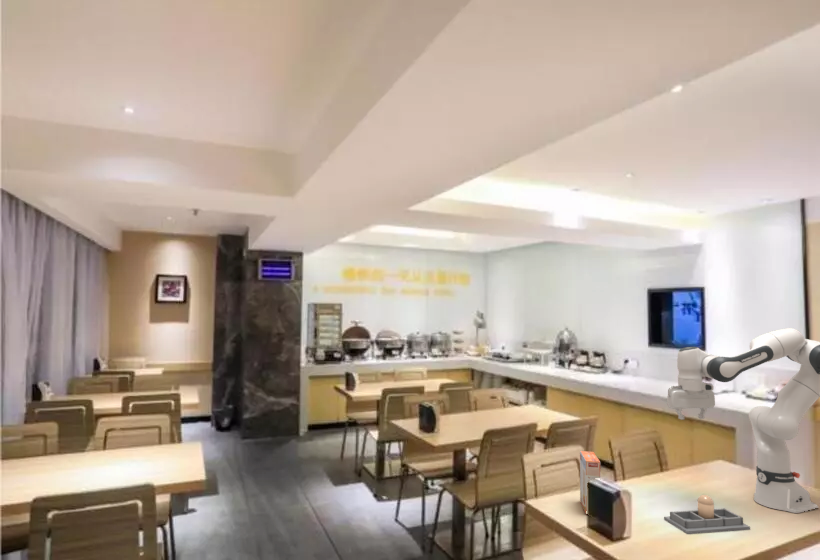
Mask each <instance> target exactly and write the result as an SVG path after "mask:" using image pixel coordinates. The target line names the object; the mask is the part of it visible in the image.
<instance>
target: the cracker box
mask: <svg viewBox="0 0 820 560" xmlns="http://www.w3.org/2000/svg"><path fill="white" fill-rule="evenodd" d="M579 463H580V464H579V471H580V473H579V474H580V476H579V478H580V479H579V480H580V481H579V484H580V485H579V487H580V488H579V493H580V494H579V496H580V497H579V498H580V499H579V501H581V502H580V504H581V507H582V506H583V507H582V509H583V508H584V509H583V512H584V513H586V511H587V483H588V481H590V480H592V479H595V478H600V479H601V461H600V459H599V458H598V456H597V455H596V453H595V452H594V451H585V450H584V451H583V450H580V451H579Z"/></svg>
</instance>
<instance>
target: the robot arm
mask: <svg viewBox="0 0 820 560" xmlns="http://www.w3.org/2000/svg"><path fill="white" fill-rule="evenodd" d="M785 357H786V358H788V359H789V360H790V361H793V362H796V363H798V364H800V367H799V370H798V372H797V373H796V374H795V375H794V376H792V378H790V380H788V382H786V384H785V385H784V386H783V387H782V388H781V389H780V390H779V391H778V392H777V397H776V400H775V402H774V404H773V406H772V407H770V406H765V405H764V406H763V405H762V406H761V405H759V406H755V407H753V408H751V410H750V411H749V412H748V420H749V422H750V424H751V428H752V433H753V437H754V441H755V445H756V459H757V460H756V461H757V462H756V463H757V466H755V467H756V469H755V471H756V474H755V475H756V477H757V478H756V481H755V491H754V493H753V496H754V497H753V500H754V502H756V503H757V504H759V505H762V506H764V507H767V508H770V509H775V510H780V511H784V512H788V513H792V514H799V513H805V512H809V511H808V510H810V511H812V510H811V509H815V508H819V505H818V504H816V503H815V502H813V501H811V495H810V493H809V491H808V490H807V489H806V488H804V487H803V486H802V485H801V484H799V482H797V481H796V480H795V478H797V479H800V478H801V474H800V473H799V472H795V471H791V454H790V450H789V448H788V446H787V444H786V441H790V440H793V439H795V438H796V437H797V436H798V434H799V430H800V429H799V425H800V424H801V421H802V420H803V418H804V416H805V414H806V413H807V411H808V410H809V409H810V408H811V407H812V406H813V405H814V404H815V402H816V401H817V400H819V399H820V341H818V340H814V339H808V338H805V336H804V335H803V333H801V331H799V330H797V329H796V328H794V327H793V328H792V327H786V328H781V329H777V330H772V331H768V332H766V333H763V334H760V335H758V336H757V337H756V336H755V337H754V338H753V339H751V340H750V342H749V350H748V351H745V352H742V353H740V354H738V355H735V356H730V357H729V356H720V355H719V356H717V355H714V354H711V353H708V352H705V351H704V350H702V349H700V348H699V347H697V346H686V347H683V348H680V349H679V350H678V353H677V360H676V361H677V370H678V374H677V385H671V386H670V387H669V388H668V389H667V398H666V399H667V400H666V405H667V407H668V408H669V409H673V410H675V413H677V415H678V417H677V418H678V420H685V417H686V416H685V414H683V413H682V412H683V410H684V409H699V410H700V412H699V413H698V414H697V417H698V419H700V420H701V419H705V415H706V413H707V410H708V408H709V409H711V408H714V407H715V405H716V397H715V392H714V385H712V384H709V383H706V382H704V381H703V377H706V378H709V379H712V380H715V381H717V382H719V383H720V382H721V383H728V382H732V381H734V380H735V379H736V378H737V377H739V375H741V374H742V373H744V372H745V371H747V370H750V369H752V368H755V367H758V366H760V365H762V364H765V363H768V362H772V361H776V360H779V359H782V358H785ZM815 510H816V509H815ZM804 511H805V512H804Z"/></svg>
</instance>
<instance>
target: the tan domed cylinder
mask: <svg viewBox="0 0 820 560" xmlns="http://www.w3.org/2000/svg"><path fill="white" fill-rule="evenodd" d="M714 503H715V502H714V500H713V498H712V497H711V496H709V495H706V494H702V495H699V496H698V497H697V510H698V516H700V517H702V518H704V519H714V509H715V504H714Z"/></svg>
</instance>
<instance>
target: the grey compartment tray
mask: <svg viewBox="0 0 820 560" xmlns="http://www.w3.org/2000/svg"><path fill="white" fill-rule="evenodd" d="M663 520H664V521H666V522H667V523H669V524H670V525H672V526H674V528H677V529H678V530H680V531H681V532H683V533H685V534H686V535H693V534H708V533H709V534H710V533H721V532H735V531H736V532H738V531H749V530H751V526H749V525H748V524H746V523H745V522H744V518H743V517H742V516H740V515H738V514H736V513H734V512H732V511H731V510H729V509H727V508H714V519H704V518H702V517H700V516H698V509H696V510H695V509H694V510H680V511H679V510H678V511H676V510H675V511H669V516H664V517H663Z"/></svg>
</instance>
